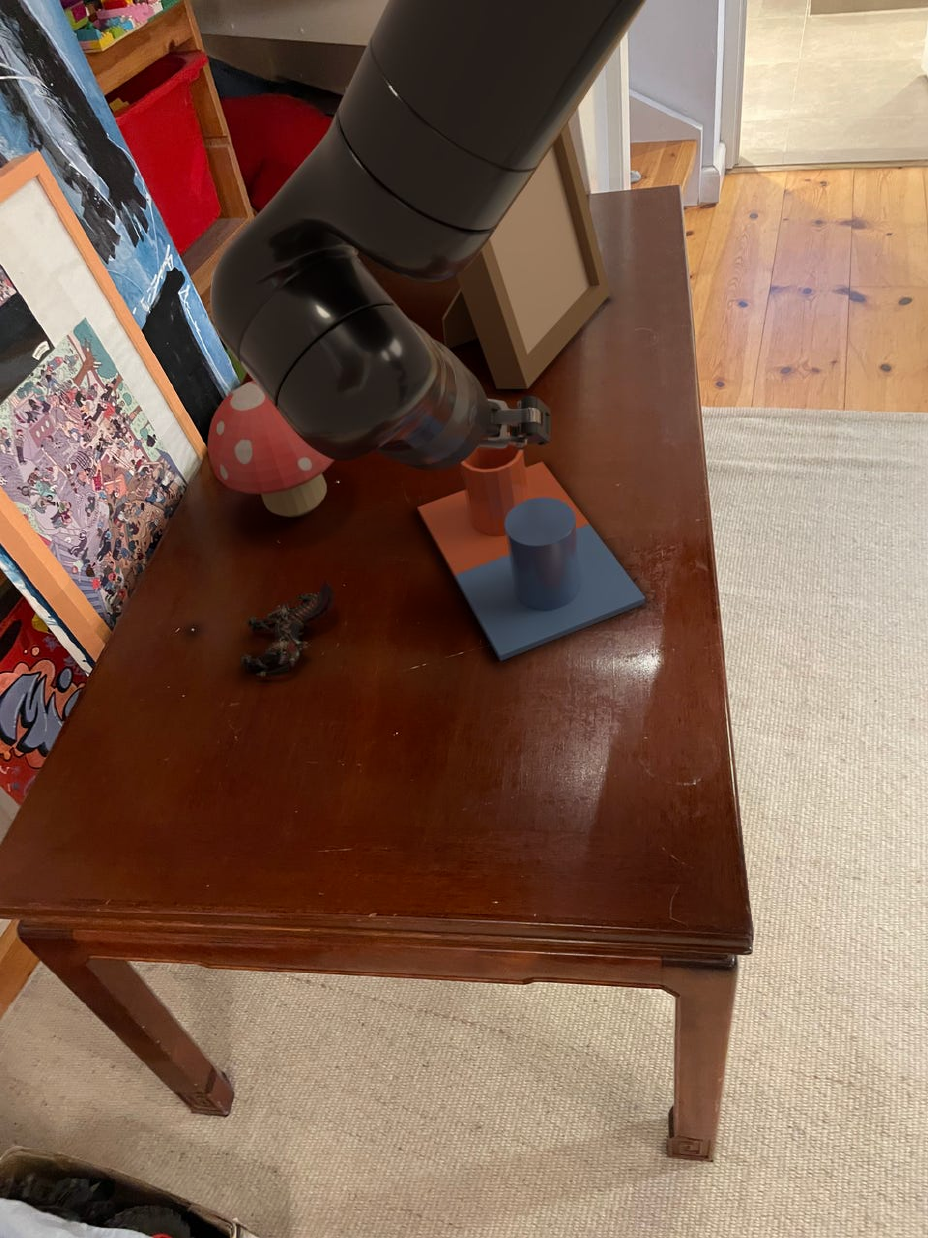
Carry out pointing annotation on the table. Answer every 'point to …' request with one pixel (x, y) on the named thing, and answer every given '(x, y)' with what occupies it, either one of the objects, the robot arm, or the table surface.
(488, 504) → the red cup
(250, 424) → the decorative mushroom
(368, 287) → the robot arm
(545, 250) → the photo frame
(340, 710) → the table surface
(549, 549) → the blue cylinder
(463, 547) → the board
